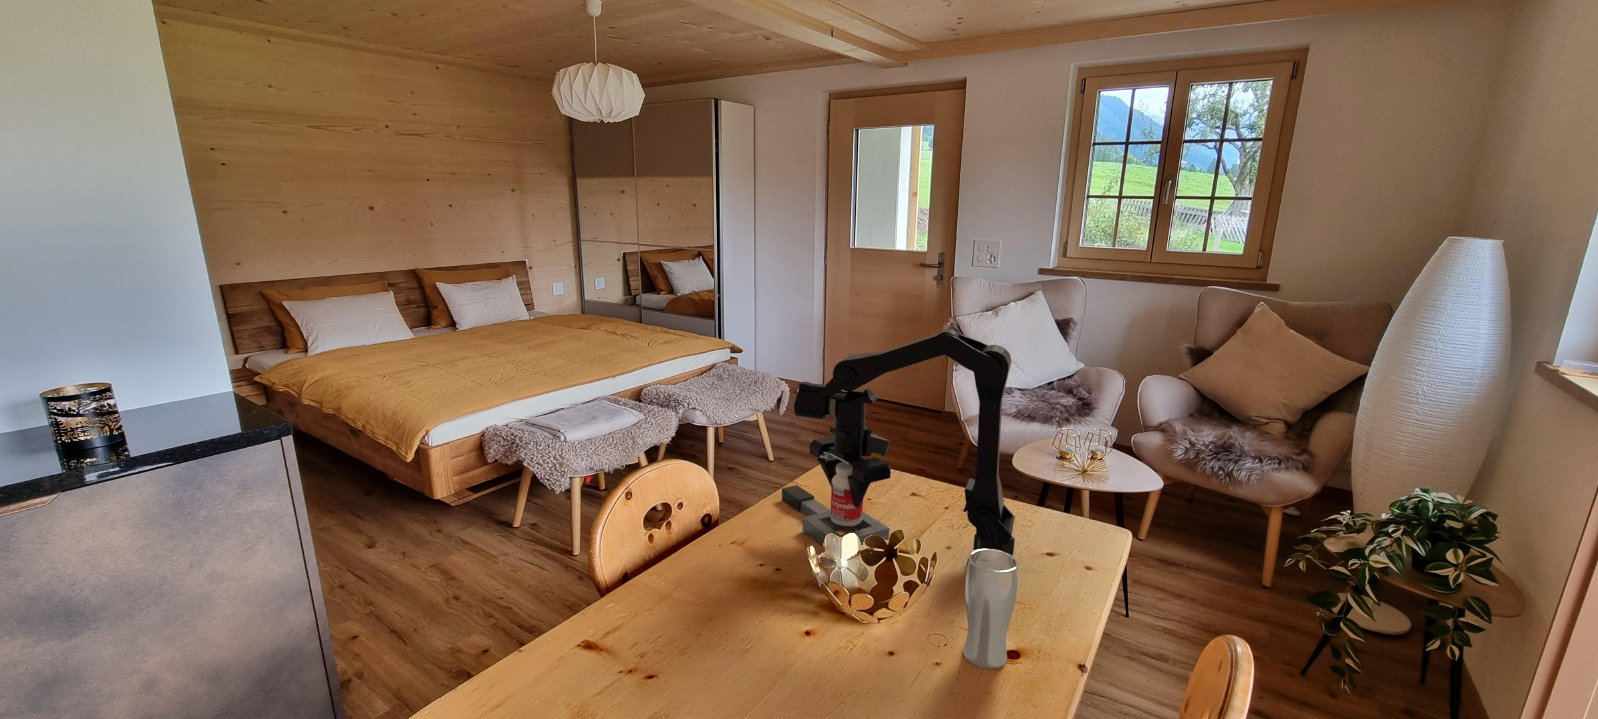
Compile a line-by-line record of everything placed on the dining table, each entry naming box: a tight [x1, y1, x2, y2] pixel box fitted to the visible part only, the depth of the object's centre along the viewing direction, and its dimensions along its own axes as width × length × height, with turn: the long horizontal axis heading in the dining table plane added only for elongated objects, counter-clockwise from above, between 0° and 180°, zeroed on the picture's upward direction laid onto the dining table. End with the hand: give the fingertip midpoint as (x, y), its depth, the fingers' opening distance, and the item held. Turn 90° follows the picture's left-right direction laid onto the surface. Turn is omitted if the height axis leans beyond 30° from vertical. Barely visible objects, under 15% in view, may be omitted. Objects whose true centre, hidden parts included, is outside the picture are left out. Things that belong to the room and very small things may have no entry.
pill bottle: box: [830, 462, 864, 527], centre depth 132 cm, size 6×6×11 cm
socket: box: [781, 484, 890, 548], centre depth 140 cm, size 27×12×3 cm, turn 32°
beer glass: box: [962, 549, 1019, 670], centre depth 97 cm, size 7×7×15 cm
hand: (847, 500), depth 132 cm, fingers closed on pill bottle, 6 cm apart
